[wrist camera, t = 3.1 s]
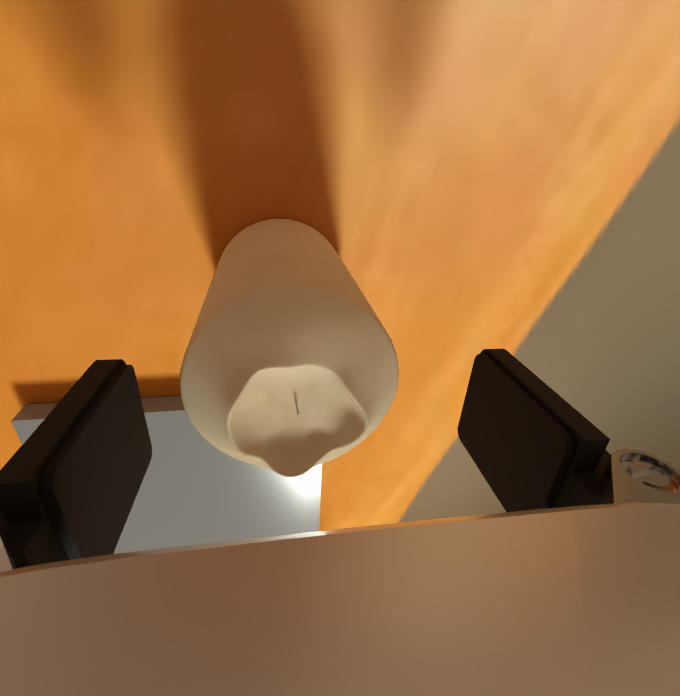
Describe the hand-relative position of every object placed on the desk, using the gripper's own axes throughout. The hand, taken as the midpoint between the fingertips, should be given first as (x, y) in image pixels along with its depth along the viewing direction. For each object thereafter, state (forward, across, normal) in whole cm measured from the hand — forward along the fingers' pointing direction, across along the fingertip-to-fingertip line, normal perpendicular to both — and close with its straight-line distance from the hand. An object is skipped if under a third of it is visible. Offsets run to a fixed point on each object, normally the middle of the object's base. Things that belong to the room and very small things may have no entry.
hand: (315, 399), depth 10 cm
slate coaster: (+8, +6, +12) cm, 16 cm away
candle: (+8, +1, -1) cm, 8 cm away
